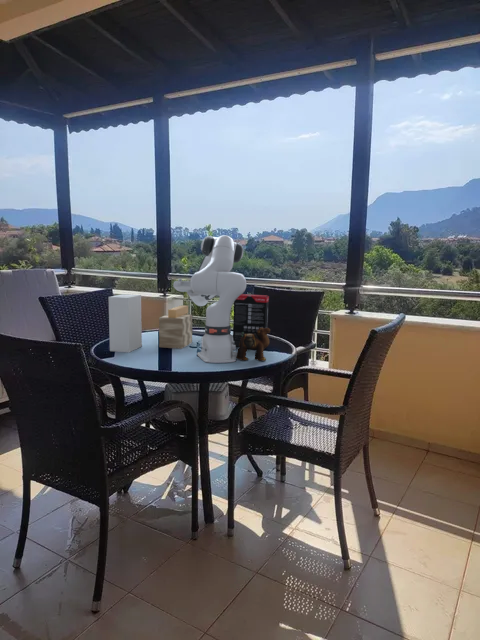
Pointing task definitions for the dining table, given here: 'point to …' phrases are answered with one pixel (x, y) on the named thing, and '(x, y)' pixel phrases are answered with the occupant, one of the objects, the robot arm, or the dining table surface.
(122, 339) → the stand
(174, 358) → the dining table surface
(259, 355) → the figurine
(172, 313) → the bar
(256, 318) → the graphics card box
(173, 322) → the pedestal
